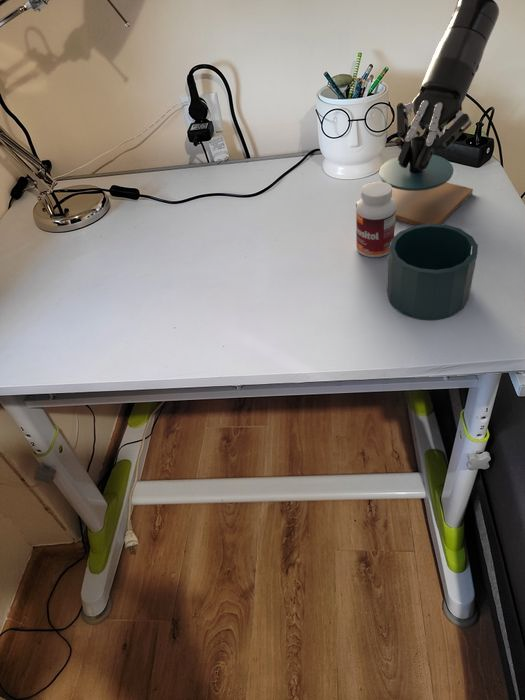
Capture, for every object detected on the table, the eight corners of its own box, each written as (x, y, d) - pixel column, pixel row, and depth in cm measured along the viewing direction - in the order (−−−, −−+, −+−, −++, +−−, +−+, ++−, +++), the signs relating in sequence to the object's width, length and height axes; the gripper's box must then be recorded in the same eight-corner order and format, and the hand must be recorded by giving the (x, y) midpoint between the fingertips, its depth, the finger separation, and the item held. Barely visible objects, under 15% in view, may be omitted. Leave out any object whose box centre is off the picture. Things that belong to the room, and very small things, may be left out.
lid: (465, 167, 90) (471, 130, 86) (429, 201, 85) (433, 163, 80) (402, 153, 97) (404, 118, 92) (365, 183, 91) (365, 148, 87)
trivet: (472, 193, 93) (473, 188, 93) (434, 231, 87) (434, 226, 86) (395, 174, 102) (395, 170, 101) (355, 207, 95) (355, 203, 95)
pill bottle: (348, 250, 87) (347, 191, 79) (371, 233, 89) (372, 174, 81) (378, 263, 83) (379, 203, 75) (401, 245, 85) (405, 185, 78)
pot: (482, 285, 76) (492, 237, 70) (443, 331, 71) (451, 283, 65) (412, 261, 82) (416, 215, 76) (372, 301, 77) (373, 255, 71)
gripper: (409, 51, 86) (367, 152, 89) (489, 59, 78) (441, 169, 81) (422, 73, 92) (383, 167, 95) (498, 83, 84) (453, 184, 88)
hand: (410, 167), depth 88 cm, fingers closed on lid, 2 cm apart
